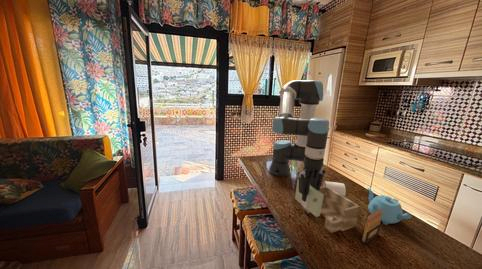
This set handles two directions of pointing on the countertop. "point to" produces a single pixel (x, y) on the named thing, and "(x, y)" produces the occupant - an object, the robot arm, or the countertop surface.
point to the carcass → (337, 211)
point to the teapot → (387, 208)
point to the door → (311, 199)
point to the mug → (336, 187)
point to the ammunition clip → (372, 226)
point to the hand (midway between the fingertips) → (306, 206)
